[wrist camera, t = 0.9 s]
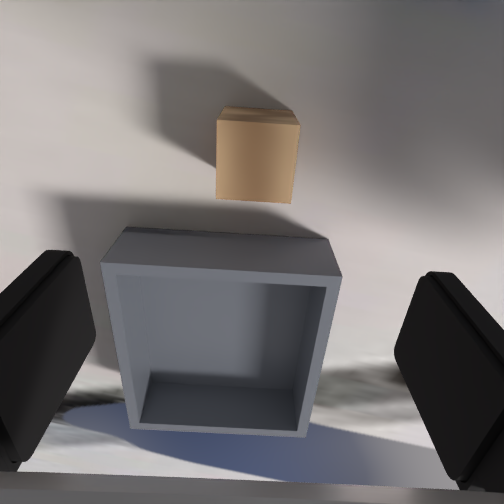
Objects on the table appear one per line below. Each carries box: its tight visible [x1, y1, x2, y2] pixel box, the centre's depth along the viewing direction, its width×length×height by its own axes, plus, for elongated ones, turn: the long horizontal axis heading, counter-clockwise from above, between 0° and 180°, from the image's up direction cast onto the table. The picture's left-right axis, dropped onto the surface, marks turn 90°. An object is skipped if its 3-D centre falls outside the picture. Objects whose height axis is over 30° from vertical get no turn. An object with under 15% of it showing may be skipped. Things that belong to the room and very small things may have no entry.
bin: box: [100, 227, 342, 437], centre depth 34 cm, size 18×20×6 cm
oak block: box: [216, 106, 301, 204], centre depth 25 cm, size 5×5×6 cm
